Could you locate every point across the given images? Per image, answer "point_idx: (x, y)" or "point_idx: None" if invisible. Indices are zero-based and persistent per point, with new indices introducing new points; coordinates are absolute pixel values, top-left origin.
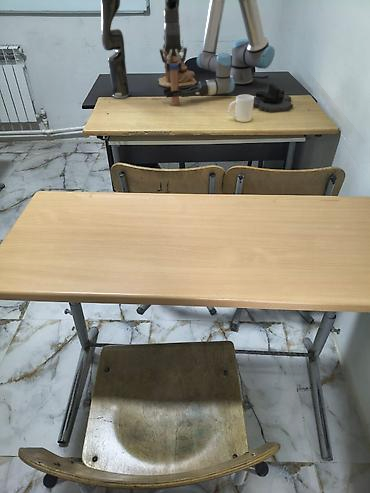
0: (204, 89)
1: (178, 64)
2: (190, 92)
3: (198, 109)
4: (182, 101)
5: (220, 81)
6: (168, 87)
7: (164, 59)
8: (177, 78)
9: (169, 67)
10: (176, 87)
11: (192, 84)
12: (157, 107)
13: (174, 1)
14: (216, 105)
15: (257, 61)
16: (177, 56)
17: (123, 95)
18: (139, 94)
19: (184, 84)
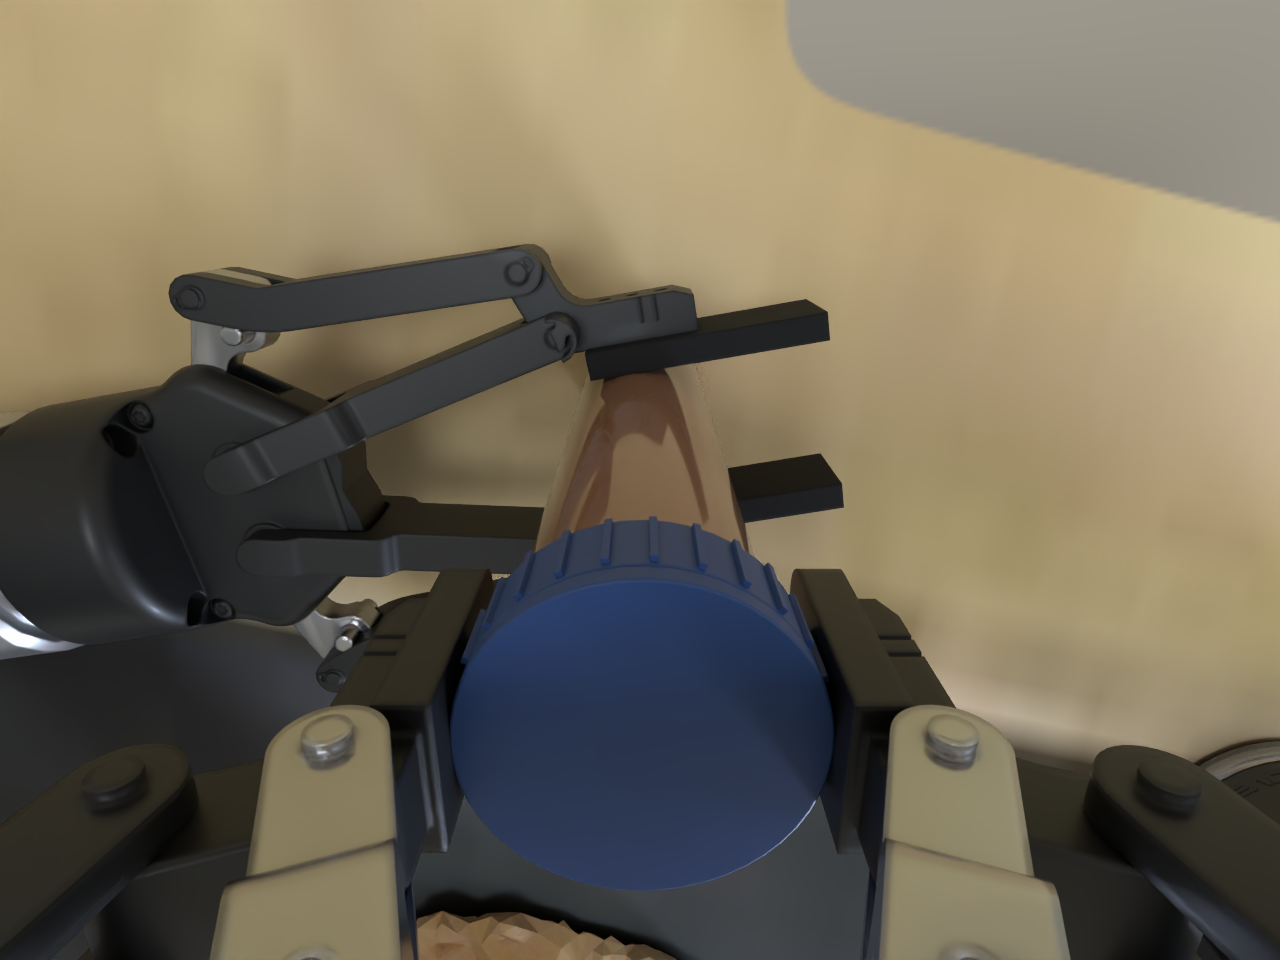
0: (89, 403)
1: (453, 700)
2: (356, 274)
3: (312, 58)
4: (530, 473)
5: None
6: (648, 947)
7: (1193, 862)
8: (569, 465)
9: (812, 647)
10: (614, 391)
11: None
12: (918, 309)
13: None
14: (25, 183)
15: None
16: (376, 938)
17: (1273, 767)
18: None
19: (450, 953)
